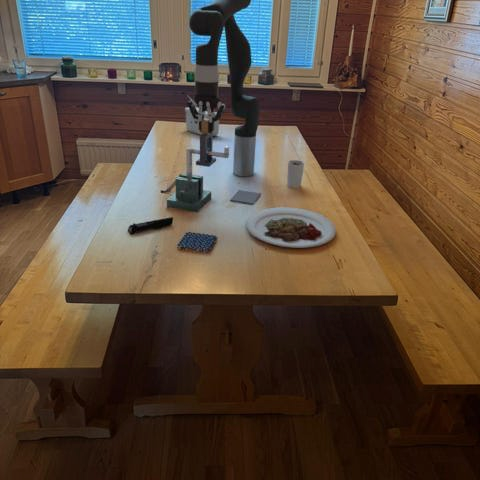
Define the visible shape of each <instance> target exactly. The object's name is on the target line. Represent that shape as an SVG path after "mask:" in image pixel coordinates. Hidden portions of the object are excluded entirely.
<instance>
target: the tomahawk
mask: <svg viewBox="0 0 480 480" xmlns="http://www.w3.org/2000/svg"><path fill="white" fill-rule="evenodd" d="M181 174H182V173H180V174H179V175H178V177H180V175H181ZM174 187H176V181H175V180H173V182H172V183H171V184H170V185H169V186H168V187H167V189H166V190H163V189H162V190H160V193H161V194H166V193H167V195H170V194H169V193H171V192H172V189H173V188H174Z"/></svg>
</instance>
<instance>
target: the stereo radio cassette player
mask: <svg viewBox="0 0 480 480" xmlns="http://www.w3.org/2000/svg"><path fill="white" fill-rule="evenodd" d="M188 98H189V100H190V101H192V100H193V99H192V98H191V97H190V96H188ZM195 107H196V110H197V112H198V110H199V108H198V106H197V105H196V103H195ZM184 112H185V129H186V131H187V132H191V133H194V134H198V135H199V136H200V135H202V134H201V132H200V130H199V121H198V120H197V119H194V118H193V116H192V114H191V112H190V109H189V107H188V106H187V107H185V108H184ZM214 112H215V113H214V117H215V116H216V114H217V112H218V111H214ZM204 118H209V117H208V113H207V111H205V114H204ZM219 128H220V119H219V120H217V121H215V122H214V131H213V137H216V136H217V135H218V134H219V130H220V129H219Z"/></svg>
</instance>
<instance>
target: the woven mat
mask: <svg viewBox="0 0 480 480" xmlns="http://www.w3.org/2000/svg"><path fill="white" fill-rule="evenodd" d="M181 237H182V238H181V239H180V241H178V243H177V249H178V250H182V251H190V252H192V253H195V252H196V253H199V252H198V251H200V253H203V254H206V253H207V254H210V253H211V251H213V248H214V246H215V244H216V243H217V240H218V237H217V235H216V234H215V235H213V234H208V233H200V232H195V231H194V232H192V231H188V232H187V231H186V232H185V234H183V236H181ZM215 241H216V242H215ZM188 249H189V250H188ZM201 249H202V250H201ZM191 250H192V251H191ZM195 250H196V251H195ZM209 252H210V253H209Z"/></svg>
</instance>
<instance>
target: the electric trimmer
mask: <svg viewBox="0 0 480 480" xmlns="http://www.w3.org/2000/svg"><path fill="white" fill-rule="evenodd" d="M173 221H174V217H171V216H170V217H167V218H160V219H154V220H150V221H145V222H144V221H143V222H138V223H133V224H129V226H128V228H127V232H128V233H129V235H135V233H140V232H145V231H149V230H158V229H162V228H166V227H168V226H170V225H172V224H173Z"/></svg>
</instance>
